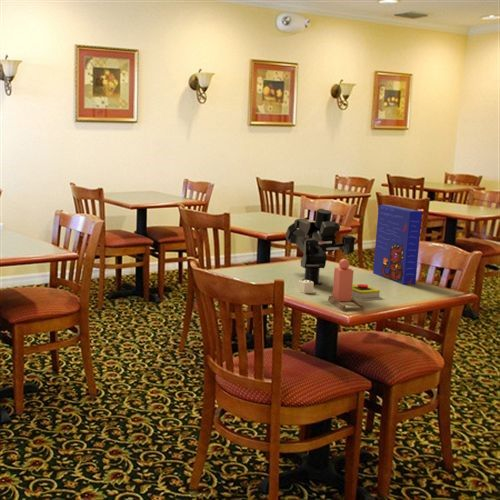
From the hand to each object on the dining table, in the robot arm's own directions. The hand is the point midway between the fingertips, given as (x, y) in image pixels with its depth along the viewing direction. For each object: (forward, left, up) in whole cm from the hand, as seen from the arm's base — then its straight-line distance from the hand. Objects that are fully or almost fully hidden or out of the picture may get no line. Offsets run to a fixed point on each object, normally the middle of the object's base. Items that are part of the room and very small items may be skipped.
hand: (336, 253), depth 238 cm
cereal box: (-35, +36, -17) cm, 53 cm away
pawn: (+6, +1, -15) cm, 16 cm away
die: (-10, -8, -17) cm, 21 cm away
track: (+10, +2, -16) cm, 19 cm away
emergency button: (-6, +12, -17) cm, 22 cm away
